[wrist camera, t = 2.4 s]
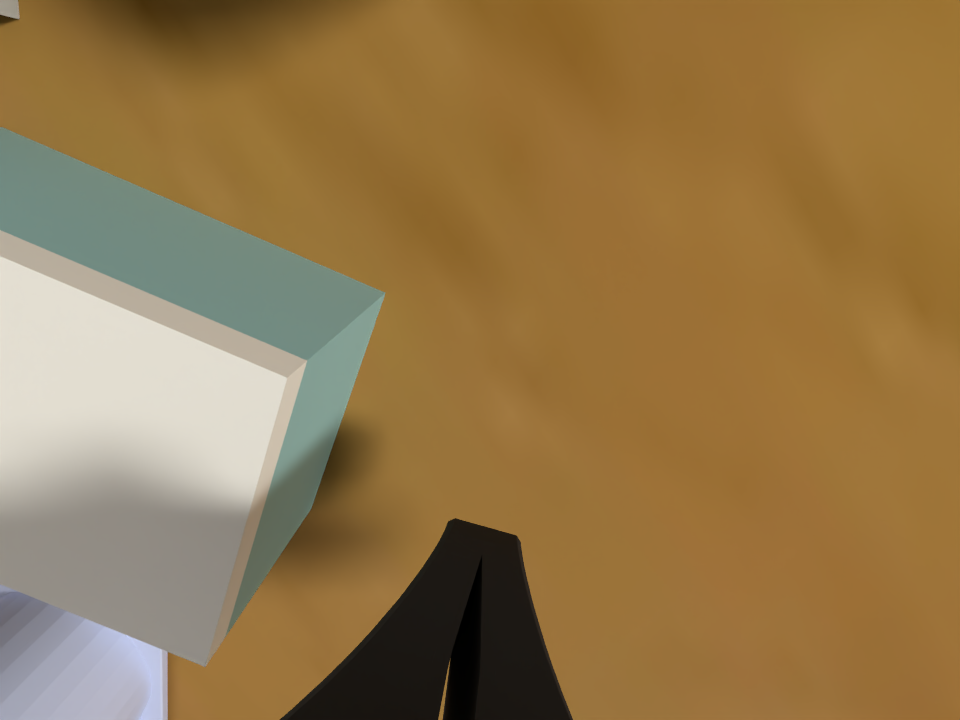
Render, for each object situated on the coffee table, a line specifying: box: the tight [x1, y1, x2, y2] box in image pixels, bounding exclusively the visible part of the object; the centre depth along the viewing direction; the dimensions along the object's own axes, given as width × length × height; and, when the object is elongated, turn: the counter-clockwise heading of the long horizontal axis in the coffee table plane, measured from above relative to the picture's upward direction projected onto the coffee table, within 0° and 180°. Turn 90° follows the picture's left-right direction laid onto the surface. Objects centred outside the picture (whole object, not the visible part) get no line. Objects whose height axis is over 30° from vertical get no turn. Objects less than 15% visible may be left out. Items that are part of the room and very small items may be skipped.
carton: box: [0, 127, 385, 667], centre depth 13 cm, size 8×11×6 cm
